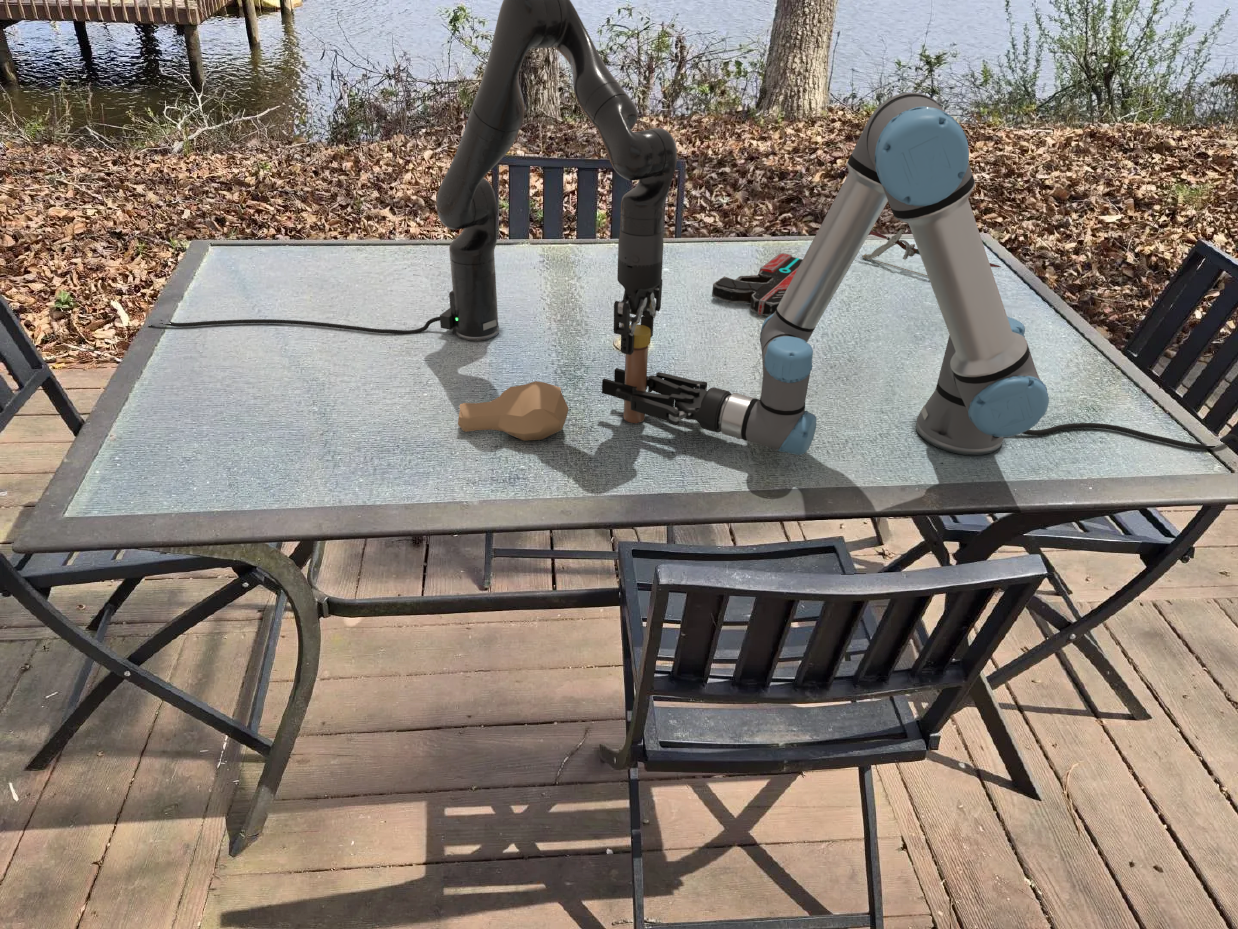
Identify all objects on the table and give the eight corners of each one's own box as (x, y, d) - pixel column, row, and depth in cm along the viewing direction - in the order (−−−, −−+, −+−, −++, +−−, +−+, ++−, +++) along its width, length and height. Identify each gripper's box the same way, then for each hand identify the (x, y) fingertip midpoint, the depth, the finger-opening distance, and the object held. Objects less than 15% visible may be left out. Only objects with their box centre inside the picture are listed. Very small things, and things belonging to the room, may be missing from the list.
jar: (641, 424, 162) (645, 340, 152) (620, 421, 163) (623, 337, 153) (647, 414, 165) (651, 331, 156) (626, 410, 166) (629, 328, 156)
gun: (708, 284, 207) (784, 305, 199) (760, 245, 229) (831, 262, 221) (706, 302, 209) (781, 323, 201) (758, 261, 231) (828, 278, 223)
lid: (624, 348, 153) (624, 335, 152) (623, 336, 157) (624, 323, 156) (650, 348, 153) (651, 335, 152) (649, 336, 157) (650, 324, 156)
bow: (994, 294, 218) (1005, 255, 212) (991, 296, 216) (1002, 257, 211) (857, 254, 239) (863, 218, 233) (853, 256, 238) (860, 219, 232)
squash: (570, 447, 155) (562, 408, 149) (459, 455, 156) (447, 417, 150) (573, 407, 163) (565, 369, 157) (467, 416, 164) (456, 378, 158)
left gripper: (639, 238, 153) (636, 325, 162) (599, 264, 143) (598, 355, 152) (678, 246, 150) (673, 334, 160) (641, 273, 140) (637, 366, 149)
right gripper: (705, 453, 149) (586, 418, 158) (742, 410, 162) (629, 379, 171) (708, 415, 145) (586, 381, 154) (746, 374, 158) (631, 344, 167)
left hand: (636, 344), depth 156 cm, fingers open, 7 cm apart
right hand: (609, 380), depth 162 cm, fingers closed on jar, 4 cm apart
